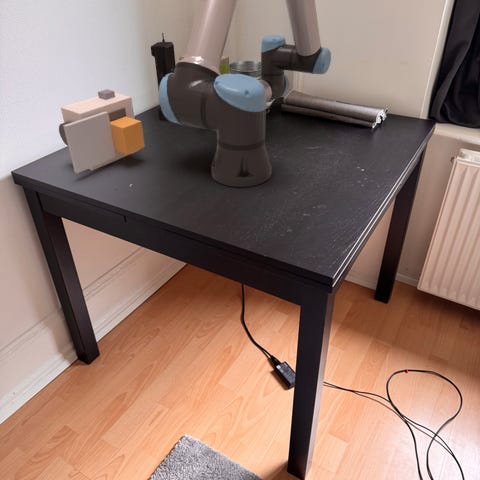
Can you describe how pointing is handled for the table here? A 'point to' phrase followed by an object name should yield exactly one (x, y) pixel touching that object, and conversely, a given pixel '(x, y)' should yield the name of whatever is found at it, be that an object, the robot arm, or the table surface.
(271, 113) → the table surface
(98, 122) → the side door
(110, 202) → the table surface
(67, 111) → the camera housing
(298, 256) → the table surface
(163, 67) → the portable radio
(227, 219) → the table surface
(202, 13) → the robot arm
